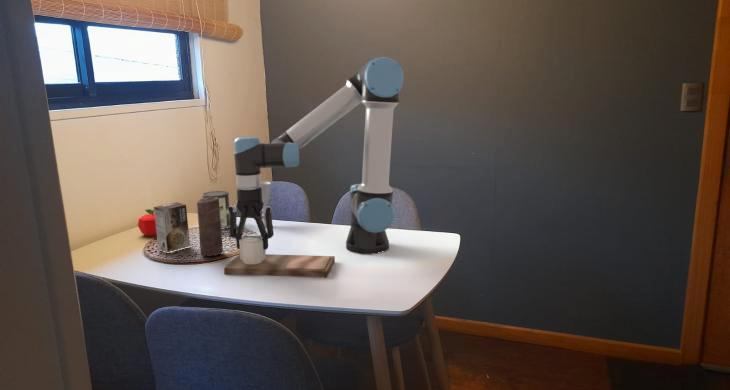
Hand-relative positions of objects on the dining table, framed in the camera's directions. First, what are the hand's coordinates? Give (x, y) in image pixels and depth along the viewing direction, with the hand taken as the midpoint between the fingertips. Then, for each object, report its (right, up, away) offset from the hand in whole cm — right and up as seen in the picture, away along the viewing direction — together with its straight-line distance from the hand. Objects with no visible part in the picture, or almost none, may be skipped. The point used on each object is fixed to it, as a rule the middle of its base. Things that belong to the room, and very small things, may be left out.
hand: (253, 258), depth 168 cm
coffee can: (-25, +7, +48) cm, 54 cm away
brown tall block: (-17, -1, +12) cm, 21 cm away
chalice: (-5, +7, +48) cm, 48 cm away
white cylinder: (0, -1, 0) cm, 1 cm away
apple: (-47, +5, +39) cm, 61 cm away
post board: (+9, -3, 0) cm, 9 cm away
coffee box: (-32, +1, +19) cm, 37 cm away
